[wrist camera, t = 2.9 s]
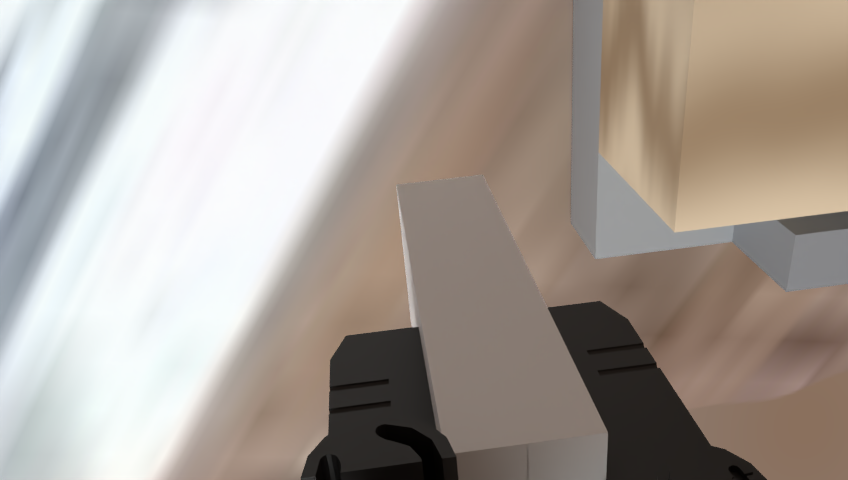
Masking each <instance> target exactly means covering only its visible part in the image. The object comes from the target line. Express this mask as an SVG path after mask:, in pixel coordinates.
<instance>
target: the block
mask: <svg viewBox="0 0 848 480" xmlns="http://www.w3.org/2000/svg"><path fill="white" fill-rule="evenodd" d="M599 153H600V155H601V156H602V157H603V158H604V159H605V160H606V161H607V162H608V163H609V164H610V165H611V166H612V167H613V168H614V169H615V170H616V171H617V172H618V173H619V175H620V176H621V177H622V178H623V179H624V180H625V181H626V182H627V183H628V184H629V185H630V186H631V187H632V188H633V189H634V190H635V191H636V192H637V194H638V195H639V196H640V197H641V198H642V199H643V200H644V201H645V202H646V203H647V204H648V205H649V206H650V207H651V208H652V209H653V210H654V211H655V213H656V214H657V215H658V216H659V217H660V218H661V219H662V220H663V221H664V222H665V223H666V224H667V225H668V226H669V227H670V228H671V229H672V230H673V231H674V233H675V232H683V231H691V230H699V229H707V228H715V227H723V226H731V225H739V224H747V223H755V222H763V221H771V220H779V219H787V218H795V217H803V216H811V215H819V214H827V213H835V212H843V211H848V0H603V20H602V53H601V87H600V120H599Z"/></svg>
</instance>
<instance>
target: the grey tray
mask: <svg viewBox="0 0 848 480" xmlns="http://www.w3.org/2000/svg"><path fill="white" fill-rule="evenodd" d="M602 20H603V0H573V82H572V165H571V224H572V225H573V227H574V228H575V230H576V231H577V233H578V234H579V236H580V237H581V239H582V240H583V242H584V243H585V245H586V246H587V248H588V249H589V250H590V252H591V253H592V255H593V256H594V258H595V259H600V258H608V257H616V256H624V255H632V254H639V253H647V252H655V251H663V250H671V249H679V248H687V247H695V246H703V245H711V244H718V243H726V242H733V243H734V244H735V245H736V246H737V247H738V248H739V249H740V250H741V251H743V252H744V253H745V254H746V255H747V256H748V257H749V258H750V259H751V260H752V261H753V262H754V263H756V264H757V265H758V266H759V267H760V268H761V269H762V270H763V271H764V272H765V273H766V274H767V275H768V276H770V277H771V278H772V279H773V280H774V281H775V282H776V283H777V284H778V285H779V286H780V287H781V288H783V289H784V290H785V291H786V292H789V291H796V290H804V289H811V288H819V287H827V286H834V285H842V284H848V211H843V212H835V213H827V214H819V215H811V216H803V217H795V218H787V219H779V220H771V221H763V222H755V223H747V224H739V225H731V226H723V227H715V228H707V229H699V230H691V231H683V232H675V233H674V231H673V230H672V229H671V228H670V227H669V226H668V225H667V224H666V223H665V222H664V221H663V220H662V219H661V218H660V217H659V216H658V215H657V214H656V213H655V211H654V210H653V209H652V208H651V207H650V206H649V205H648V204H647V203H646V202H645V201H644V200H643V199H642V198H641V197H640V196H639V195H638V194H637V192H636V191H635V190H634V189H633V188H632V187H631V186H630V185H629V184H628V183H627V182H626V181H625V180H624V179H623V178H622V177H621V176H620V175H619V173H618V172H617V171H616V170H615V169H614V168H613V167H612V166H611V165H610V164H609V163H608V162H607V161H606V160H605V159H604V158H603V157H602V156H601V155H600V153H599V120H600V87H601V53H602Z"/></svg>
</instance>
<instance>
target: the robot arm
mask: <svg viewBox="0 0 848 480" xmlns="http://www.w3.org/2000/svg"><path fill="white" fill-rule="evenodd" d="M396 187H397V196H398V205H399V214H400V224H401V233H402V242H403V252H404V261H405V270H406V279H407V289H408V298H409V307H410V317H411V324H412V328H404V329H396V330H388V331H380V332H372V333H364V334H356V335H348V336H346V337H345V338H344V340H343V341H342V343H341V344H340V346H339V347H338V349H337V351H336V352H335V354H334V355H333V357H332V358H331V360H330V392H329V412H330V414H329V433H328V436H326V437H325V438H324V439H323V440H322V441H321V442H320V443H319V444H318V445H317V447H316V448H315V449H314V450H313V451H312V452H311V453H310V454H309V456H308V458H307V461H306V464H305V467H304V470H303V473H302V476H301V480H767V479H766V478H765V477H764V476H763V475H761V473H760V472H759V471H758V470H757V469H756V468H755V467H754V466H753V465H752V464H751V463H749V462H747V461H745V460H744V459H742V458H740V457H738V456H736V455H734V454H733V453H731V452H729V451H727V450H725V449H721V448H718V447H713V446H711V445H710V444H709V442H708V441H707V439H706V438H705V436H704V434H703V433H702V431H701V430H700V428H699V427H698V425H697V424H696V422H695V421H694V419H693V418H692V416H691V415H690V413H689V412H688V410H687V409H686V407H685V406H684V404H683V403H682V401H681V399H680V398H679V396H678V395H677V393H676V392H675V390H674V389H673V387H672V386H671V384H670V383H669V381H668V380H667V378H666V377H665V375H664V374H663V372H662V371H661V369H660V368H657V365H656V361H655V360H654V358H653V357H652V355H651V354H650V352H649V351H648V349H647V348H644V345H643V342H642V340H641V339H640V337H639V336H638V334H637V333H636V331H635V330H634V328H633V327H632V325H631V323H630V322H629V320H628V319H626V318H625V317H623V316H622V315H620V314H619V313H617V312H616V311H614V310H613V309H611V308H610V307H608V306H607V305H605V304H604V303H602V302H600V301H597V302H589V303H581V304H573V305H565V306H557V307H549V308H547V306H546V304H545V302H544V300H543V298H542V295H541V293H540V291H539V289H538V287H537V285H536V283H535V281H534V279H533V277H532V275H531V273H530V271H529V269H528V267H527V265H526V263H525V261H524V258H523V256H522V254H521V252H520V250H519V248H518V246H517V244H516V242H515V240H514V238H513V236H512V234H511V232H510V230H509V228H508V226H507V223H506V221H505V219H504V217H503V215H502V213H501V211H500V209H499V207H498V205H497V203H496V201H495V199H494V197H493V195H492V193H491V191H490V188H489V186H488V184H487V182H486V180H485V178H484V176H483V175H477V176H468V177H459V178H451V179H442V180H433V181H425V182H416V183H407V184H399V185H396Z"/></svg>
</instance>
